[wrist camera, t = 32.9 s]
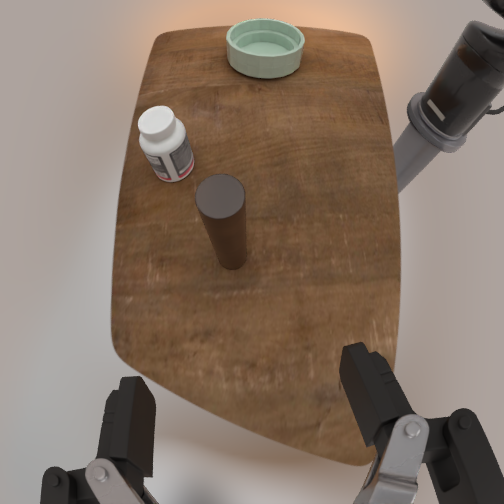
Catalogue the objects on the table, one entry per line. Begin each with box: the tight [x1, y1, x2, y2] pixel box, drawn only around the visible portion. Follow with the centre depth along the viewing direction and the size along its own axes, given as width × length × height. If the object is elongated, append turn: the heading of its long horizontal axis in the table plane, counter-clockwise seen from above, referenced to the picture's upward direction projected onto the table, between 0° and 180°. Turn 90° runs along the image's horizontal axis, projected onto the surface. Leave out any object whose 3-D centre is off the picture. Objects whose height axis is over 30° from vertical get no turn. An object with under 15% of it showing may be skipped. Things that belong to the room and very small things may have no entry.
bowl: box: [226, 18, 305, 78], centre depth 40 cm, size 12×12×6 cm
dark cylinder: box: [195, 174, 247, 270], centre depth 26 cm, size 3×3×16 cm
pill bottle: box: [138, 106, 194, 182], centre depth 32 cm, size 5×5×10 cm
